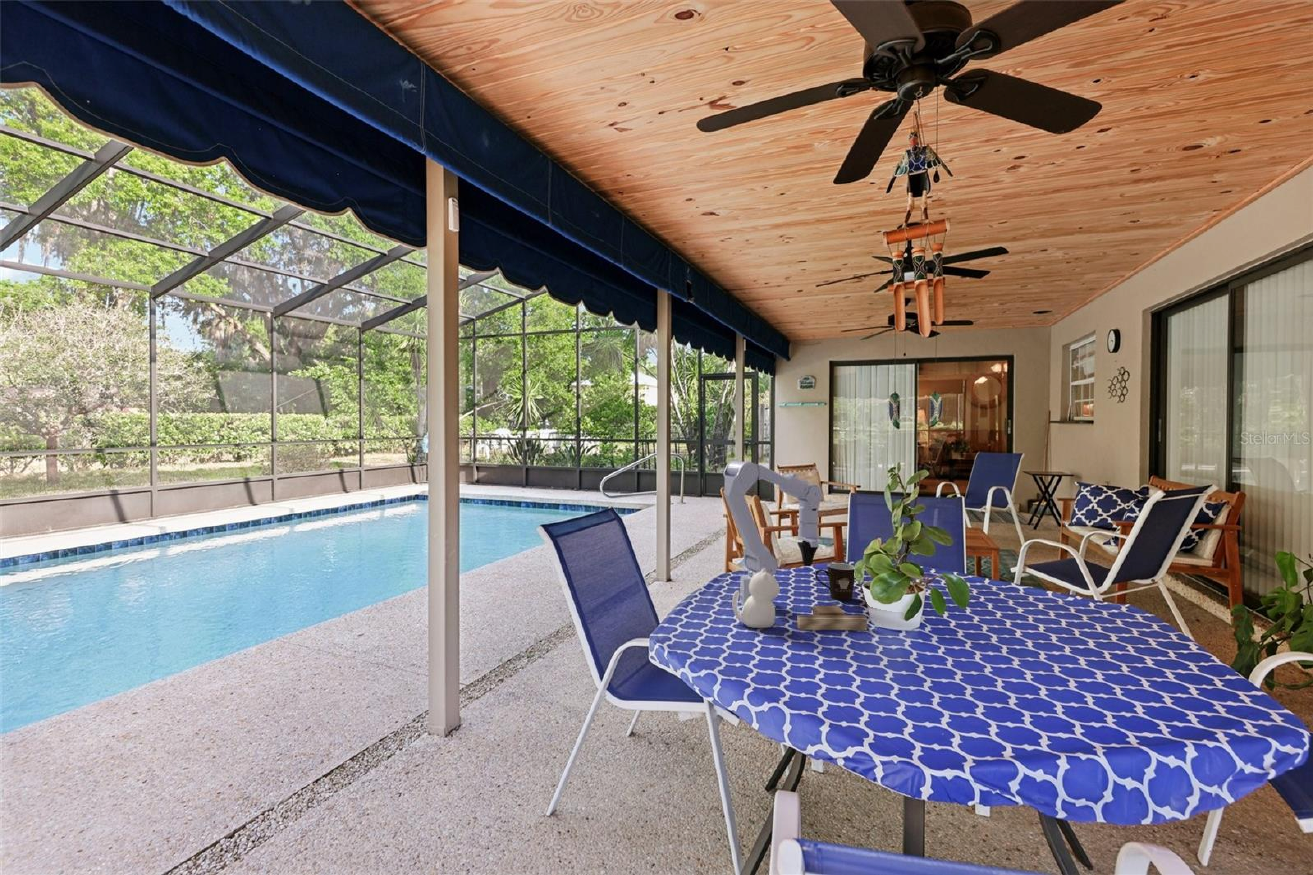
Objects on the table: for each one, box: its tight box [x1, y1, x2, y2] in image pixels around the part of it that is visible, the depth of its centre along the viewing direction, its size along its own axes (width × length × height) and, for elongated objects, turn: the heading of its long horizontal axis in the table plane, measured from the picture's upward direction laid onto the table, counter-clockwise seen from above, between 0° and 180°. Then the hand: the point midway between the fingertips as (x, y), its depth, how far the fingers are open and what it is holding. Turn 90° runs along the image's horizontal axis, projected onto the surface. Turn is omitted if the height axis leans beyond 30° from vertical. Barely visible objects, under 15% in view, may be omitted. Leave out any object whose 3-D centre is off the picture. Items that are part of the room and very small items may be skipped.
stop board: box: [796, 614, 868, 631], centre depth 156 cm, size 18×2×3 cm, turn 92°
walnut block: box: [812, 605, 846, 616], centre depth 160 cm, size 7×6×4 cm
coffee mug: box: [815, 562, 856, 602], centre depth 185 cm, size 12×9×10 cm
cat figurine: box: [731, 568, 781, 629], centre depth 158 cm, size 9×12×15 cm
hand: (807, 565), depth 182 cm, fingers closed
